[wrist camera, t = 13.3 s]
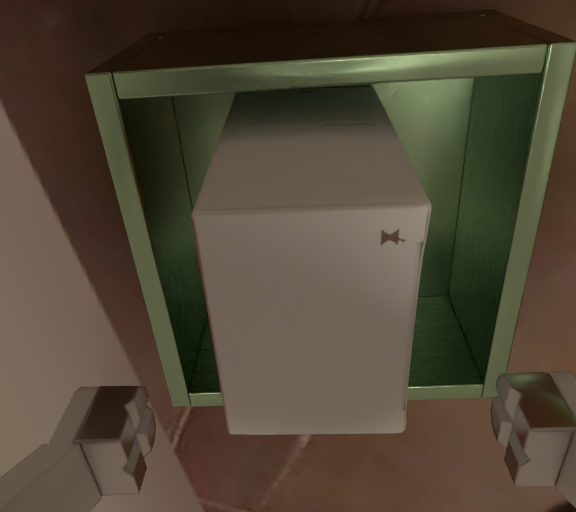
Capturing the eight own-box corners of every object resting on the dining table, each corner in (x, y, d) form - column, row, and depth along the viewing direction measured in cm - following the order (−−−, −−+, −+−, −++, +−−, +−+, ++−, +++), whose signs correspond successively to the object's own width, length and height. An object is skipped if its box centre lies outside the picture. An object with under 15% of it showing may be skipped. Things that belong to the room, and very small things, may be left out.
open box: (200, 306, 27) (172, 407, 22) (146, 33, 20) (82, 73, 14) (457, 295, 27) (501, 398, 21) (495, 9, 20) (579, 41, 14)
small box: (235, 88, 20) (183, 205, 11) (376, 82, 20) (437, 199, 11) (251, 258, 25) (223, 441, 16) (368, 255, 24) (407, 439, 15)
